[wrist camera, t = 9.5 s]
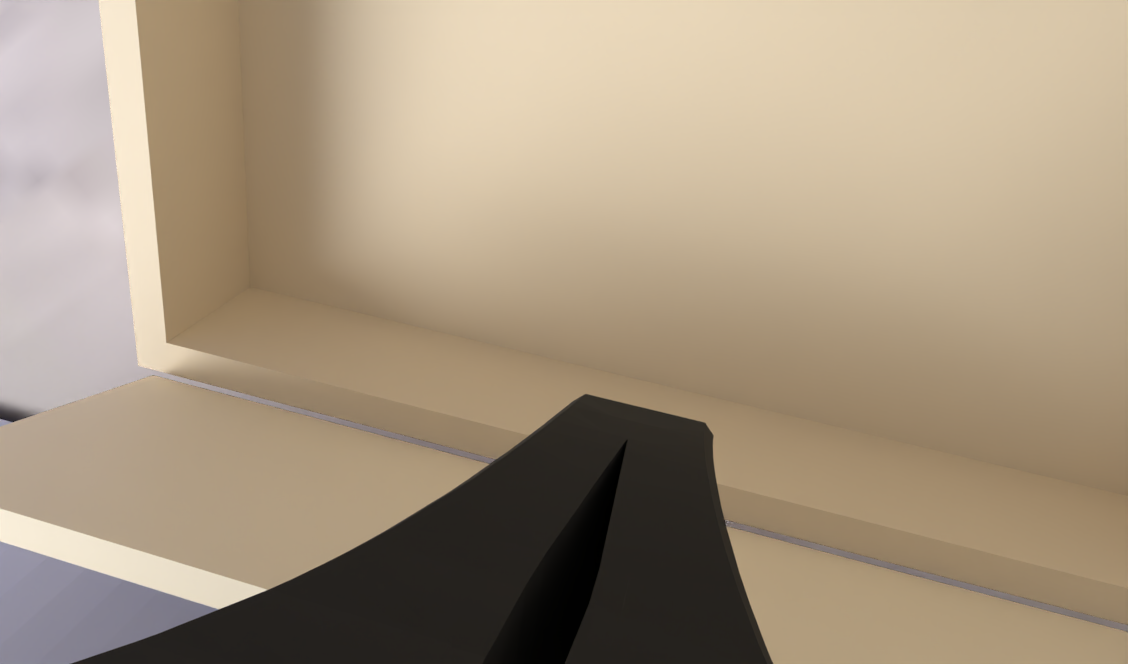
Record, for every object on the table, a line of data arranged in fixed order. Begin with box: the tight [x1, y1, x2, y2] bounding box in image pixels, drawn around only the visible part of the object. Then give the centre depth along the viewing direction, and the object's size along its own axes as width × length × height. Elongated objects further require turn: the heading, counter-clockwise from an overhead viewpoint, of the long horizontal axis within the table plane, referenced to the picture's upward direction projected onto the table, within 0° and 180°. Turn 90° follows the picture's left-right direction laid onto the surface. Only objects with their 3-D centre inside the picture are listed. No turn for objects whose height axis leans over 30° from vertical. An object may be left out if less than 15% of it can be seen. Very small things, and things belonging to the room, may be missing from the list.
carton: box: [99, 0, 1128, 625], centre depth 12 cm, size 14×18×3 cm
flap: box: [0, 375, 1128, 664], centre depth 12 cm, size 5×17×1 cm
